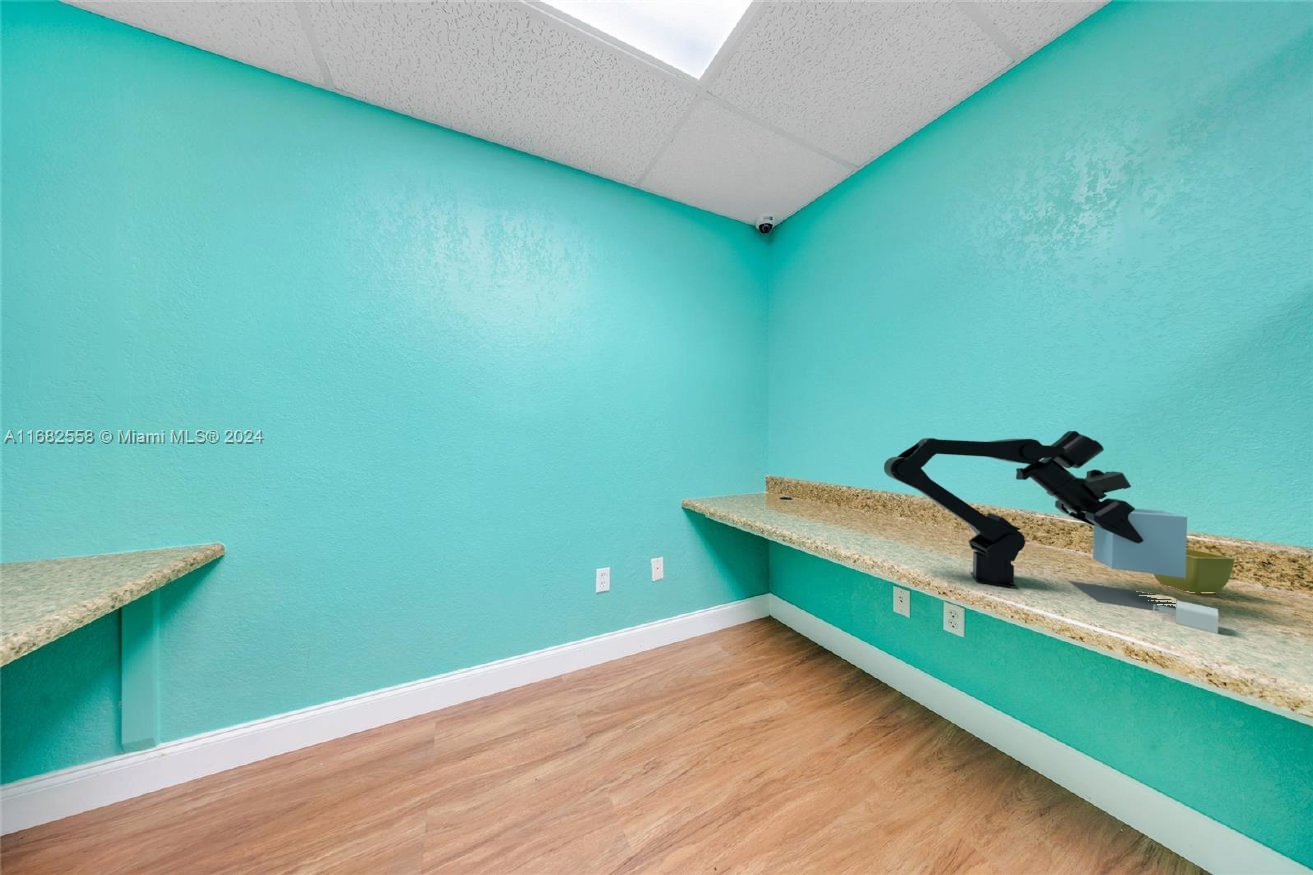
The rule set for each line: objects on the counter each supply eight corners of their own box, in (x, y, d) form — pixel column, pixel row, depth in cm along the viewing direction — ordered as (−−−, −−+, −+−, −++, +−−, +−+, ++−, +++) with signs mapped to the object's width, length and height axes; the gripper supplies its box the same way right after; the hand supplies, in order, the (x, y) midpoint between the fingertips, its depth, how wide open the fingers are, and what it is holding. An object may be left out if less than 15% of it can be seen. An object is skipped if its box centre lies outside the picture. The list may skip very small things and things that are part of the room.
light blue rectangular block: (1111, 568, 80) (1113, 511, 79) (1093, 558, 86) (1094, 505, 86) (1185, 577, 75) (1187, 517, 75) (1159, 566, 81) (1161, 510, 81)
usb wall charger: (1217, 636, 66) (1218, 613, 66) (1152, 620, 72) (1153, 599, 72) (1216, 630, 68) (1217, 608, 68) (1153, 614, 74) (1153, 594, 74)
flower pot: (1178, 583, 91) (1179, 545, 91) (1235, 599, 82) (1236, 557, 82) (1143, 583, 90) (1144, 545, 90) (1196, 599, 82) (1198, 557, 82)
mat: (1097, 603, 79) (1097, 601, 79) (1067, 582, 90) (1067, 580, 90) (1220, 623, 71) (1220, 620, 71) (1170, 597, 82) (1170, 595, 82)
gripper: (1120, 460, 75) (1206, 523, 70) (1074, 456, 91) (1141, 506, 86) (1064, 496, 79) (1142, 558, 74) (1029, 486, 95) (1091, 536, 90)
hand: (1129, 537), depth 81 cm, fingers closed on light blue rectangular block, 7 cm apart
